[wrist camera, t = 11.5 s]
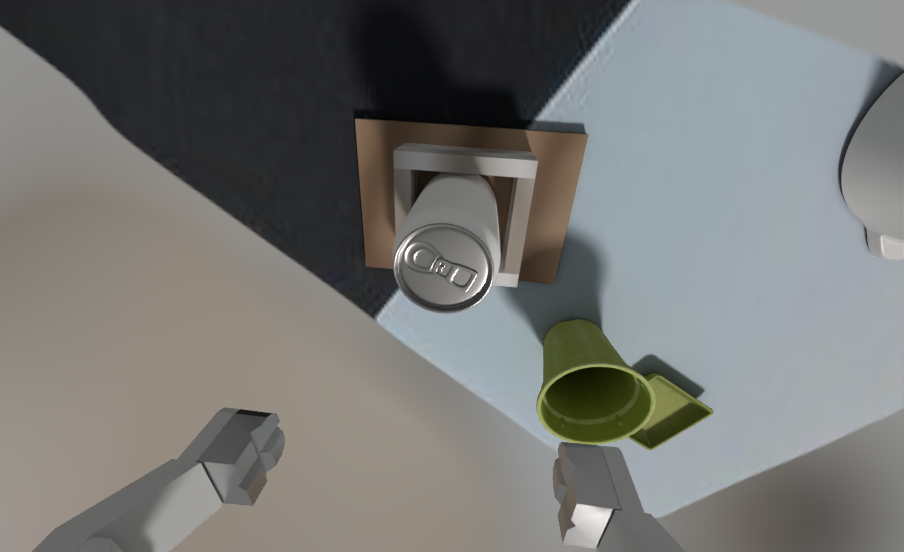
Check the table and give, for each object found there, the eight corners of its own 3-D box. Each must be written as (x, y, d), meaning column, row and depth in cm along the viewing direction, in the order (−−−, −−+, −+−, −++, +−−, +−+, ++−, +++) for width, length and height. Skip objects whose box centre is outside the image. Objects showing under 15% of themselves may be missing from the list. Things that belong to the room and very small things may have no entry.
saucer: (590, 403, 40) (595, 418, 39) (650, 360, 37) (658, 374, 35) (643, 435, 42) (650, 451, 40) (705, 397, 38) (716, 412, 36)
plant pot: (510, 353, 37) (515, 419, 30) (560, 288, 33) (582, 347, 25) (581, 386, 39) (604, 458, 31) (639, 328, 34) (682, 395, 27)
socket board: (583, 132, 27) (604, 141, 22) (551, 276, 33) (562, 307, 28) (361, 117, 28) (334, 122, 23) (370, 259, 34) (351, 287, 30)
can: (441, 152, 27) (413, 193, 17) (511, 190, 28) (525, 251, 18) (409, 220, 30) (369, 290, 20) (473, 252, 31) (467, 335, 21)
